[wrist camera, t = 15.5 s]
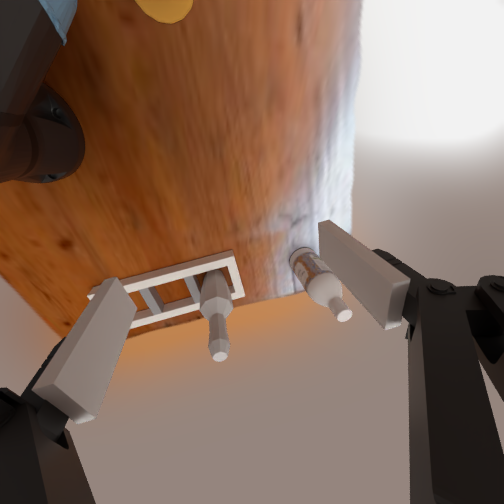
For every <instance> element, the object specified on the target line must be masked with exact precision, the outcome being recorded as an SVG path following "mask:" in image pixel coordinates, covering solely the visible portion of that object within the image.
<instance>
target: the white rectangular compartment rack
mask: <svg viewBox="0 0 504 504" xmlns="http://www.w3.org/2000/svg"><path fill="white" fill-rule="evenodd" d="M225 266H228V270H229V273H230V276H231V279H232V282H233V285H232V286H228V288H229V291H230V293H231V297H232V300H234V299H237V298H241V297H244V296H245V293H244V289H243V285H242V282H241V278H240V275H239V271H238V268H237V264H236V261H235V257H234V254H233V250H229V251H226V252H222V253H218V254H215V255H211V256H207V257H203V258H200V259H196V260H192V261H189V262H185V263H181V264H177V265H174V266H170V267H166V268H163V269H159V270H155V271H151V272H148V273H144V274H140V275H136V276H133V277H129V278H125V279H122V280H119V281H120V283H121V284H122V286H123V287H124V289H125V290H126V292H127V293H130V292H133V291H137V290H139V292H140V293H141V295H142V297H143V298H144V300H145V302H146V303H147V305H148V306H149V308H150V309H146V310H143V311H139V312H136V313H135V316H134V318H133V321H132V324H131V326H130V329H131V328H135V327H138V326H142V325H146V324H149V323H153V322H156V321H160V320H163V319H167V318H170V317H174V316H177V315H181V314H184V313H188V312H191V311H195V310H198V309H200V294H201V286H200V284H199V282H198V279H197V277H196V274H199V273H203V272H207V271H210V270H214V269H218V268H221V267H225ZM181 278H184V280H185V282H186V284H187V287H188V289H189V291H190V293H191V295H192V297H189V298H186V299H182V300H178V301H175V302H171V303H168V304H164V303H163V301H162V299H161V298H160V296H159V294H158V292H157V290H156V289H155V287H154V286H155V285H159V284H163V283H166V282H170V281H174V280H177V279H181ZM100 286H101V285H99V286H96V287H93V288H92V290H91V291H90V292H89V294H88V295H87V296H88V298H89V299H90V300H91V299H92V298H93V296H94V295H95V293H96V292H97V290H98V289H99V287H100Z"/></svg>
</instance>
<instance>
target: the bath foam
mask: <svg viewBox="0 0 504 504" xmlns="http://www.w3.org/2000/svg"><path fill="white" fill-rule="evenodd" d="M290 266H291V268H292V269H293V271H294V273H295V274H296V276H297V278H298V279H299V281H300V282H301V284H302V285H303V287H304V289H305V290H306V292H307V293H308V295H309V296H310V298H311V299H313V301H315V302H316V303H318V304H320V305H322V306H325V307H329V308H330V310H331V311H332V312H333V314H334V316H335V317H336V318H337V320H338V321H341V322H344V321H346V320H348V319H350V317H351V316H352V311H351V310H350V308H349V307H348V306H347V305H346V303H345V302H344V301H343V300H342V286H341V283H340V281H339V279H338V278H337V277H336V275H335V274H334V273H333V272H332V271H331V270H330V269H329V268H328V266H327V265H326V264H325V263H324V262H323V261H322V260H321V259H320V258H319V256H318V255H317V254H316V253H315V252H314V251H313V250H312V249H309V248H301V249H299V250H297V251H295V252H294V253H293V255H292V256H291V258H290Z"/></svg>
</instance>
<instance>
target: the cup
mask: <svg viewBox="0 0 504 504" xmlns="http://www.w3.org/2000/svg"><path fill="white" fill-rule="evenodd" d="M135 1H136V3H137V4H138V5H139V6H140V8H141V9H142V10H143V11H144V13H145V14H147V15H148V16H150V17H151V18H153V19H154V20H156V21H158V22H160V23H168V24H173V23H176V22H178V21H180V20H183V19H184V18H185V16H186V15H187V14H188V12H189V11H190V10H191V8H192V4H193V1H194V0H135Z"/></svg>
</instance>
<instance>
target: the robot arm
mask: <svg viewBox="0 0 504 504" xmlns="http://www.w3.org/2000/svg"><path fill="white" fill-rule="evenodd" d="M76 10H77V0H0V183H2V182H6V181H9V180H17V181H24V182H31V183H48V182H54V181H57V180H60V179H63V178H65V177H68V176H70V175H71V174H73V173H74V172H75V171H76V170H77V169H78V168H79V166H80V165H81V163H82V160H83V157H84V153H85V141H84V136H83V132H82V129H81V126H80V124H79V122H78V120H77V118H76V116H75V114H74V113H73V111H72V110H71V109H70V107H69V106H68V105H67V103H66V102H65V101H64V100H63V99H62V98H61V97H60V96H59V95H58V94H57V93H56V92H55V91H54V90H52V89H51V88H50V87H48V86H47V85H46V84H44V83H43V80H44V78H45V76H46V74H47V72H48V70H49V68H50V66H51V64H52V62H53V60H54V58H55V56H56V54H57V52H58V50H59V48H60V46H61V45H63V46H65V44H66V42H67V38H66V34H67V32H68V29H69V27H70V25H71V22H72V20H73V18H74V15H75V13H76ZM318 230H319V253H320V258H321V260H322V261H323V262H324V263H325V264H326V265H327V266H328V267H329V269H330V270H331V271H332V272H333V273H334V274H335V275H336V276H337V277H338V279H339V280H340V281H341V282H342V283H343V284H344V285H345V286H346V287H347V289H348V290H349V291H350V292H351V293H352V294H353V295H354V296H355V297H356V299H357V300H358V301H359V302H360V303H361V304H362V305H363V306H364V307H365V309H366V310H367V311H368V312H369V313H370V314H371V315H372V316H373V318H374V319H375V320H376V321H377V322H378V323H379V324H380V325H381V326H382V328H383V329H384V330H387V329H390V328H394V327H397V326H400V324H401V319H402V316H403V317H404V318H405V319H406V320H407V321H408V322H409V325H408V329H407V333H406V337H405V338H406V339H408V374H409V446H410V447H409V449H410V504H504V454H503V450H502V447H501V442H500V439H499V435H498V431H497V428H496V424H495V420H494V417H493V412H492V409H491V405H490V401H489V398H488V394H487V390H486V386H485V382H484V379H483V375H482V371H481V367H480V364H479V361H480V363H481V364H482V366H483V368H484V370H485V371H486V373H487V375H488V376H489V378H490V380H491V381H492V383H493V385H494V386H495V388H496V390H497V391H498V393H499V395H500V396H501V398H502V400H503V401H504V277H503V276H495V275H491V276H490V275H489V276H484V277H481V278H480V280H479V282H478V284H477V286H460V287H456V286H454V285H453V284H452V283H450V282H447V281H445V280H441V279H433V278H429V279H427V278H425V277H424V276H422V275H421V274H419V273H418V272H416V271H415V270H413V269H412V268H410V267H409V266H407V265H406V264H404V263H402V262H401V261H400V260H398V259H396V258H395V257H394V256H393V255H391V254H390V253H388V252H385V251H382V250H380V249H375V250H370V249H368V248H367V247H366V246H364V245H363V244H362V243H360V242H359V241H357V240H356V239H355V238H353V237H352V236H351V235H349V234H348V233H347V232H345V231H344V230H343V229H341V228H340V227H338V226H337V225H336V224H334V223H333V222H332V221H330V220H327V221H323V222H319V223H318ZM136 310H137V307H136V306H135V304H134V303H133V301H132V300H131V298H130V296H129V295H128V293H127V292H126V290H125V289H124V287H123V286H122V284H121V283H120V281H119V279H118V278H117V277H114V278H110V279H106V280H104V281H103V283H102V284H101V286H100V287H99V289H98V290H97V292H96V293H95V295H94V296H93V298H92V299H91V301H90V302H89V304H88V305H87V307H86V308H85V310H84V311H83V313H82V314H81V316H80V317H79V319H78V320H77V322H76V323H75V325H74V326H73V328H72V329H71V331H70V332H69V334H68V335H67V337H64V338H63V339H62V340H61V341H60V342H59V343H58V344H57V345H56V346H55V347H54V348H53V350H52V351H51V353H50V354H49V355H48V357H47V359H46V360H45V361H44V363H43V364H42V366H41V368H40V369H39V370H38V372H37V373H36V374H35V376H34V377H33V379H32V380H31V382H30V383H29V384H28V386H27V387H26V389H25V390H24V392H23V393H22V395H21V396H18V395H17V394H15V393H14V392H12V391H11V390H9V389H8V388H0V504H96V503H95V500H94V498H93V495H92V492H91V489H90V487H89V484H88V481H87V478H86V476H85V473H84V470H83V467H82V465H81V462H80V459H79V457H78V454H77V451H76V448H75V446H74V443H73V440H72V438H71V435H70V432H69V431H68V430H67V429H66V428H65V425H66V423H67V421H68V419H69V418H70V419H71V420H73V421H74V422H75V423H77V424H80V423H83V422H87V421H90V420H93V419H96V418H97V415H98V412H99V409H100V407H101V404H102V401H103V399H104V396H105V393H106V391H107V388H108V385H109V383H110V380H111V377H112V375H113V372H114V369H115V367H116V364H117V361H118V359H119V356H120V353H121V350H122V348H123V345H124V343H125V340H126V337H127V335H128V332H129V329H130V326H131V324H132V321H133V318H134V316H135V313H136ZM478 359H479V360H478Z"/></svg>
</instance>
